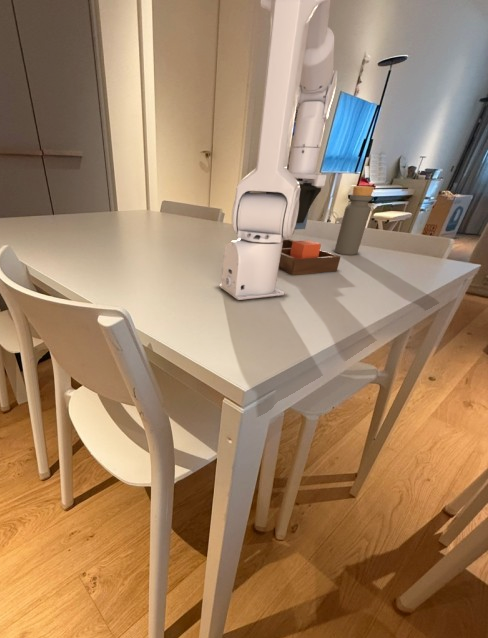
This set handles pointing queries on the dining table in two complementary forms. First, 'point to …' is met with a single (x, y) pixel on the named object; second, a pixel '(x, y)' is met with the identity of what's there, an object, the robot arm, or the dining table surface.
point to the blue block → (301, 224)
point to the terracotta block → (305, 249)
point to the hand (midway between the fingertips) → (292, 221)
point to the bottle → (354, 221)
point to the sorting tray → (306, 261)
